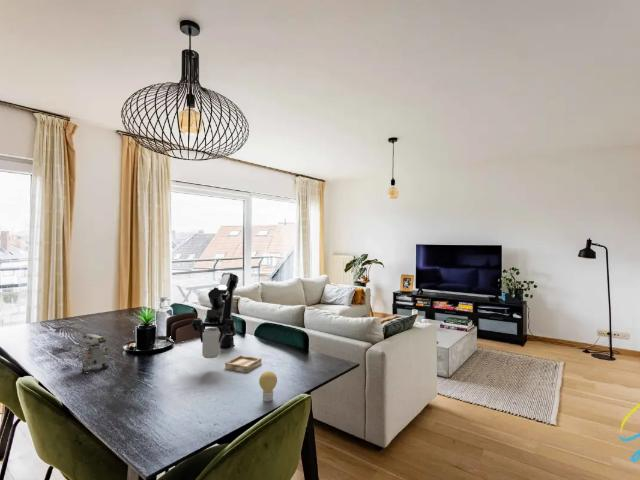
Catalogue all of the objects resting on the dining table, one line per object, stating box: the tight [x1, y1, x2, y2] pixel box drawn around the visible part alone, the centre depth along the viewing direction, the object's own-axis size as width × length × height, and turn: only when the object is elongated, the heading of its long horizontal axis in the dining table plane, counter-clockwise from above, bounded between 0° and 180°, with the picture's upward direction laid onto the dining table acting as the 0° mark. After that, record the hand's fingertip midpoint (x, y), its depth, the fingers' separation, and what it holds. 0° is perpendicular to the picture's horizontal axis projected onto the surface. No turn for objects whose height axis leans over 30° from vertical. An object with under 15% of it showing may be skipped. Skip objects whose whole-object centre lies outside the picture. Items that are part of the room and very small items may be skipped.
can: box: [201, 327, 221, 359], centre depth 151 cm, size 8×8×12 cm
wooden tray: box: [224, 355, 262, 373], centre depth 155 cm, size 12×12×2 cm
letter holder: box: [165, 311, 206, 344], centre depth 200 cm, size 10×20×14 cm, turn 147°
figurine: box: [76, 333, 109, 373], centre depth 150 cm, size 9×12×15 cm
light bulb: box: [258, 371, 278, 403], centre depth 122 cm, size 6×6×10 cm
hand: (210, 342), depth 150 cm, fingers closed on can, 7 cm apart
